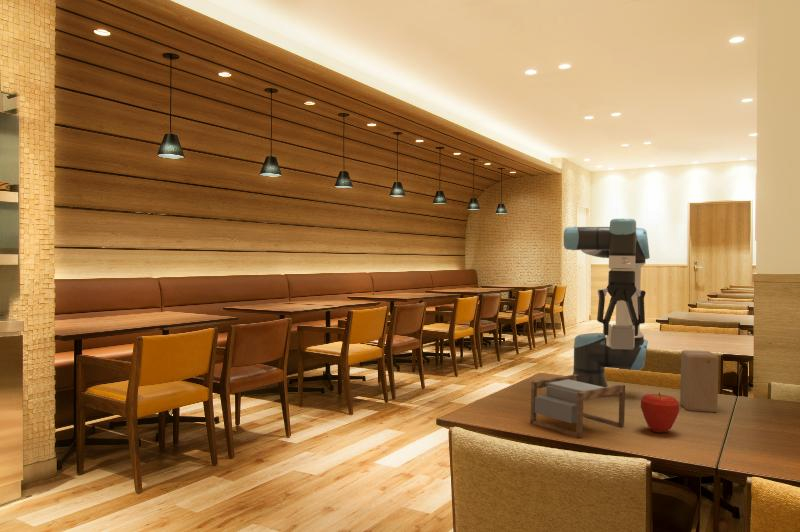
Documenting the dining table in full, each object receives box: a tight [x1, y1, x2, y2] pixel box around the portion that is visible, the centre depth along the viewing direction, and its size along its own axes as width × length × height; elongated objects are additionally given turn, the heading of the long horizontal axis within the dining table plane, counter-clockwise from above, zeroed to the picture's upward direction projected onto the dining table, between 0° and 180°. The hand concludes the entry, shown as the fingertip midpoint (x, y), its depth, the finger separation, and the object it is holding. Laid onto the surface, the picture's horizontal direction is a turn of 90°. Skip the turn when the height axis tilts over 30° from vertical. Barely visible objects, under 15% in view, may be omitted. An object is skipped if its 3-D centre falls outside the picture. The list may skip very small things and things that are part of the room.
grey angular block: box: [535, 379, 604, 424], centre depth 182 cm, size 17×16×9 cm
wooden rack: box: [530, 374, 626, 439], centre depth 184 cm, size 22×19×13 cm
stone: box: [610, 324, 634, 350], centre depth 176 cm, size 6×6×7 cm
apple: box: [640, 391, 680, 433], centre depth 178 cm, size 11×11×12 cm
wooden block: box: [679, 349, 720, 413], centre depth 207 cm, size 10×10×20 cm
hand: (620, 346), depth 176 cm, fingers closed on stone, 6 cm apart
